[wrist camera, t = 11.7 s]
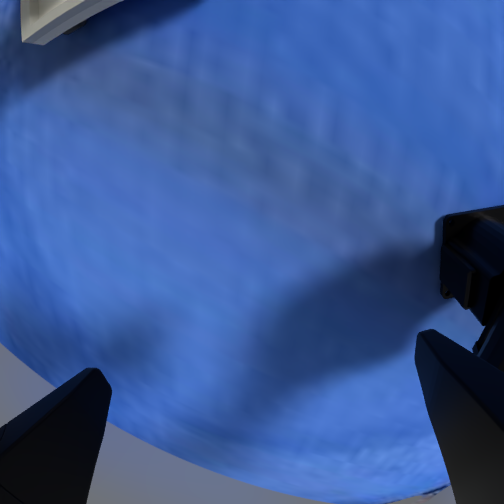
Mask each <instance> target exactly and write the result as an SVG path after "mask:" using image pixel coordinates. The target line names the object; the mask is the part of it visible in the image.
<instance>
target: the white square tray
mask: <svg viewBox="0 0 504 504" xmlns="http://www.w3.org/2000/svg"><path fill="white" fill-rule="evenodd" d="M121 1H123V0H21V33H22V42H24V43H31V44H38V45H45V44H47V43H48V42H50V41H51V40H53V39H54V38H56V37H57V36H59V35H60V34H62V33H64V34H70V33H72V32H74V31H75V30H77V29H79V28H81V27H82V26H84V25H85V24H86V21H87V18H89V17H91V16H93V15H95V14H97V13H99V12H101V11H103V10H104V9H106V8H108V7H111V6H113V5H115V4H117V3H119V2H121Z"/></svg>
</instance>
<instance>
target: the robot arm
mask: <svg viewBox="0 0 504 504" xmlns="http://www.w3.org/2000/svg"><path fill="white" fill-rule="evenodd" d="M450 220H452V223H451V224H450V225H449V221H450ZM440 280H441V289H440V294H441V295H442V297H443V298H444V299H448V298H452V297H455V298H456V300H457V301H458V302H459V303H460V305H461V306H462V307H463V308H464V309H465V310H467V309H470V311H471V312H472V313H473V314H474V316H475V317H476V318H477V319H478V321H479V322H480V323H481V325H482V326H485V328H484V330H483V332H482V334H481V336H480V338H479V340H478V341H476V342H475V344H474V346H473V348H472V350H473V353H472V352H470V351H469V350H467V349H465V348H464V347H462V346H460V345H459V344H457V343H456V342H454V341H452V340H451V339H449V338H447V337H446V336H444V335H442V334H441V333H439V332H438V331H436V330H434V329H429V330H425V331H421V332H419V333H418V335H417V340H416V348H415V365H416V368H417V372H418V376H419V380H420V383H421V387H422V391H423V395H424V399H425V404H426V408H427V411H428V415H429V418H430V421H431V423H432V426H433V429H434V432H435V435H436V438H437V441H438V444H439V447H440V450H441V453H442V456H443V459H444V462H445V465H446V469H447V472H448V475H449V479H450V482H451V486H452V489H453V493H454V496H455V500H456V504H504V205H501V206H495V207H489V208H483V209H477V210H471V211H465V212H459V213H453V214H448V215H446V216H445V218H444V220H443V246H442V248H441V262H440ZM446 291H448V292H447V293H446ZM111 396H112V389H111V386H110V384H109V383H108V381H107V380H106V378H105V377H104V375H103V373H102V372H101V370H99V369H98V368H86V369H84V370H83V371H81V372H80V373H78V374H77V375H76V376H74V377H73V378H71V379H70V380H68V381H67V382H65V383H64V384H63V385H61V386H60V387H58V388H57V389H55V390H54V391H53V392H51V393H50V394H48V395H47V396H45V397H44V398H42V399H41V400H40V401H38V402H37V403H35V404H34V405H33V406H31V407H30V408H28V409H27V410H25V411H24V412H22V413H21V414H19V415H18V416H17V417H15V418H14V419H12V420H11V421H9V422H8V424H5V425H3V426H2V427H1V428H0V504H86V503H87V498H88V493H89V489H90V485H91V481H92V477H93V473H94V469H95V465H96V462H97V458H98V454H99V450H100V447H101V443H102V439H103V436H104V431H105V426H106V421H107V416H108V410H109V405H110V400H111Z"/></svg>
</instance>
